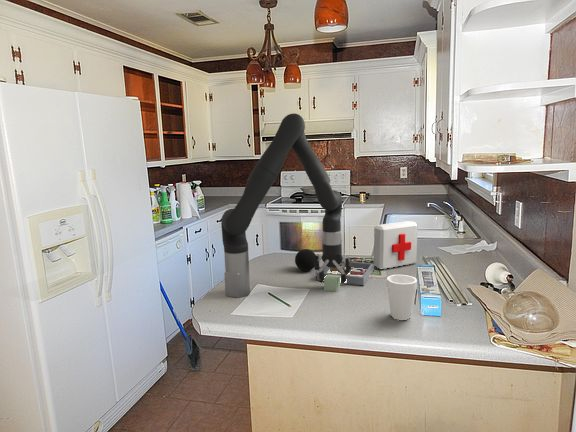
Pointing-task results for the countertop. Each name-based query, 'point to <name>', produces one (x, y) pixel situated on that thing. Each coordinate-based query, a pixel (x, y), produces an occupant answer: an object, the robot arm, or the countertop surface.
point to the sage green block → (332, 283)
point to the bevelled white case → (395, 244)
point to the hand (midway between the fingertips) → (332, 281)
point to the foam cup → (401, 295)
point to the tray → (353, 279)
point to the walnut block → (336, 268)
